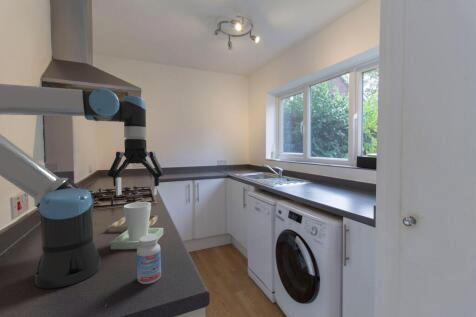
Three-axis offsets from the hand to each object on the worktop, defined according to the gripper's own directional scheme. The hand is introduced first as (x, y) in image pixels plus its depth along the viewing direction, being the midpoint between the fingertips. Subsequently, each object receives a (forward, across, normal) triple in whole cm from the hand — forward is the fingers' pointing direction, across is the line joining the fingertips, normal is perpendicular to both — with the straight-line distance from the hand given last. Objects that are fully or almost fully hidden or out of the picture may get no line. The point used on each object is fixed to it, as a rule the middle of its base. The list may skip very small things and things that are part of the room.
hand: (136, 195), depth 86 cm
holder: (+18, +9, -17) cm, 26 cm away
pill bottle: (+18, -14, +25) cm, 34 cm away
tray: (+18, 0, 0) cm, 18 cm away
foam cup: (+17, 0, 0) cm, 17 cm away
